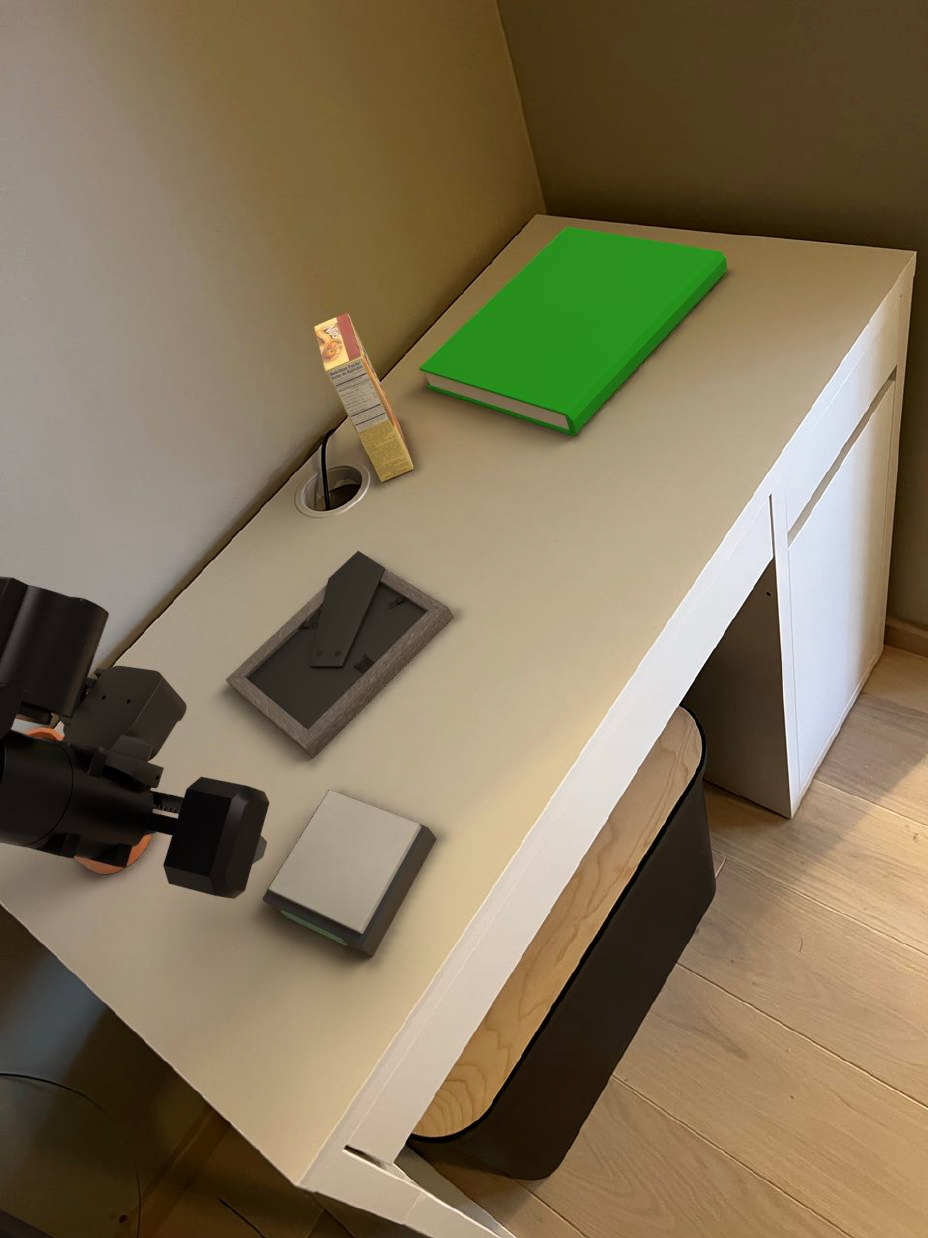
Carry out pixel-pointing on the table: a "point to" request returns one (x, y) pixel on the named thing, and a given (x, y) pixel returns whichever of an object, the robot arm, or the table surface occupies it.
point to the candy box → (362, 396)
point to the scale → (350, 871)
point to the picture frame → (338, 651)
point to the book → (572, 326)
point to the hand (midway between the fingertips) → (208, 836)
